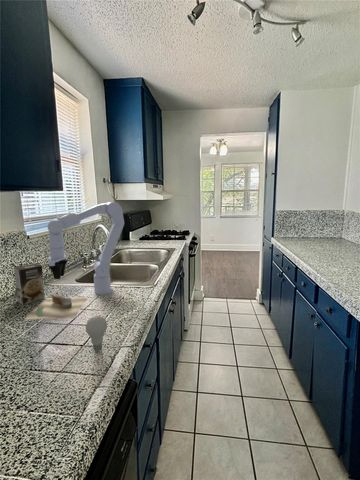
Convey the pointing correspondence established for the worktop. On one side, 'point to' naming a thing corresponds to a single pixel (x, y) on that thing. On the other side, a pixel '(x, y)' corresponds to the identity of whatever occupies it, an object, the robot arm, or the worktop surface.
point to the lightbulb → (96, 331)
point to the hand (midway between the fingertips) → (59, 277)
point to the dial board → (57, 309)
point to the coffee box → (29, 283)
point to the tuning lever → (62, 301)
